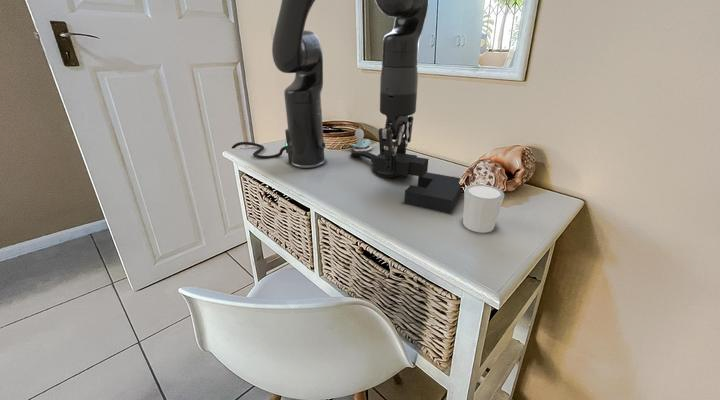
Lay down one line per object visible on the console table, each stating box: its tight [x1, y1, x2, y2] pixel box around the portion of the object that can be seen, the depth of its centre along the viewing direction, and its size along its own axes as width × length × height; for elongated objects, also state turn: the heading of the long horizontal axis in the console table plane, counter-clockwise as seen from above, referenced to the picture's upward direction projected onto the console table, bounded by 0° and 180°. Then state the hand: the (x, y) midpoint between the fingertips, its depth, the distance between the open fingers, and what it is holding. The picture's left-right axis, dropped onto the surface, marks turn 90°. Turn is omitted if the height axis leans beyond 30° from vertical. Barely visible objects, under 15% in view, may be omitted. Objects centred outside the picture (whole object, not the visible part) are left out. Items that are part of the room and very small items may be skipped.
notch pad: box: [403, 171, 464, 214], centre depth 73 cm, size 10×12×3 cm
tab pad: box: [374, 152, 429, 177], centre depth 74 cm, size 11×6×3 cm, turn 62°
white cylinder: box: [462, 183, 506, 234], centre depth 61 cm, size 7×7×7 cm
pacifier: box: [348, 128, 373, 152], centre depth 102 cm, size 7×6×6 cm
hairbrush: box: [350, 151, 400, 178], centre depth 90 cm, size 8×4×25 cm
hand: (395, 166), depth 75 cm, fingers closed on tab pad, 5 cm apart
